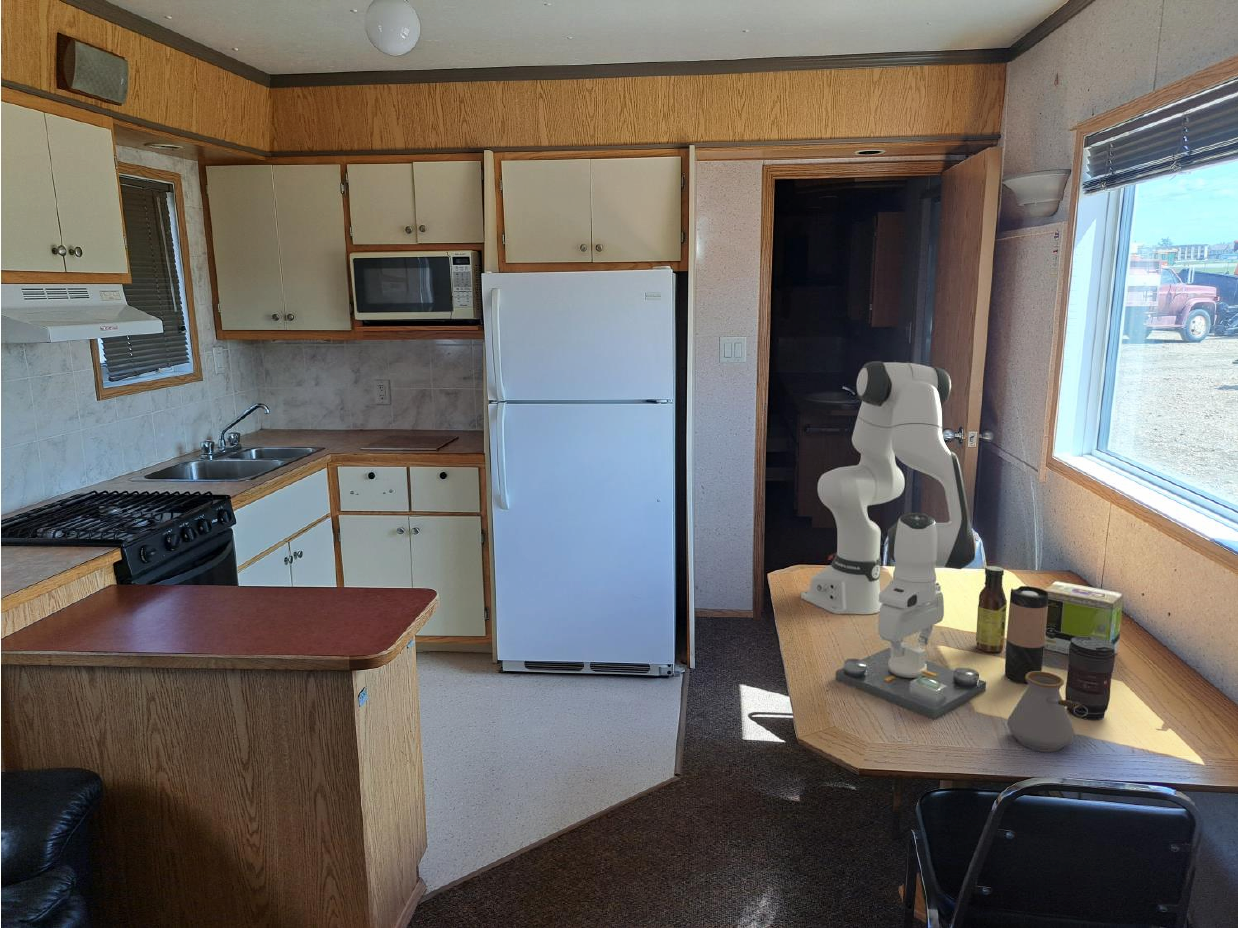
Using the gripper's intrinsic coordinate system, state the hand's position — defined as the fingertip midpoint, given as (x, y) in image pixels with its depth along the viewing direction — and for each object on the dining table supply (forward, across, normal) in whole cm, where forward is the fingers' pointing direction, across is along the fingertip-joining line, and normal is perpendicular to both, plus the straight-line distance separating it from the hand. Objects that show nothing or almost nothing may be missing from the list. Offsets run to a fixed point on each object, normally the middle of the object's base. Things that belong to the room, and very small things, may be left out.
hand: (911, 650), depth 190 cm
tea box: (+7, -45, +17) cm, 48 cm away
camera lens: (+8, -14, +31) cm, 35 cm away
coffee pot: (+8, +8, +34) cm, 36 cm away
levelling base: (+7, +2, +1) cm, 7 cm away
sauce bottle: (+7, -30, +3) cm, 31 cm away
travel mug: (+7, -20, +16) cm, 26 cm away
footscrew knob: (+5, 0, +1) cm, 5 cm away
